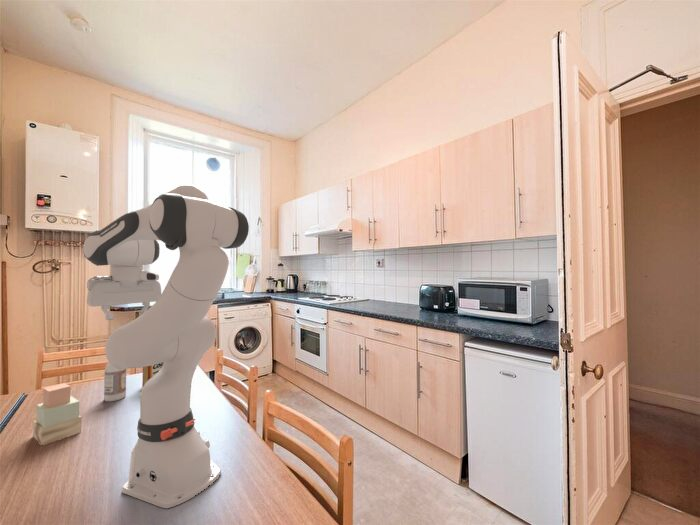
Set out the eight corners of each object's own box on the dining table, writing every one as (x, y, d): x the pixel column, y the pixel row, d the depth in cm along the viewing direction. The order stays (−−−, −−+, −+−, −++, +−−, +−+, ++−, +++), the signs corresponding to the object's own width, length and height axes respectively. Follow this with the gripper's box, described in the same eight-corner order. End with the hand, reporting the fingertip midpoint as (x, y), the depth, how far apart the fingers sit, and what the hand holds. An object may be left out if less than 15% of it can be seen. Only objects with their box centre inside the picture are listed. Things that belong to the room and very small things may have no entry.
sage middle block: (79, 417, 96) (79, 401, 96) (44, 428, 90) (44, 411, 90) (70, 410, 101) (70, 395, 101) (36, 420, 94) (36, 404, 94)
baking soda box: (148, 390, 130) (148, 353, 130) (142, 386, 134) (143, 350, 134) (171, 383, 137) (172, 348, 138) (165, 380, 141) (166, 346, 142)
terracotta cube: (70, 402, 96) (70, 386, 96) (48, 408, 91) (48, 391, 92) (64, 398, 98) (64, 383, 98) (43, 404, 94) (43, 388, 94)
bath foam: (120, 401, 119) (121, 350, 120) (100, 402, 118) (101, 351, 118) (129, 394, 126) (130, 345, 126) (110, 395, 124) (111, 346, 125)
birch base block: (81, 432, 96) (81, 416, 96) (41, 446, 89) (42, 429, 89) (71, 424, 101) (71, 409, 101) (32, 437, 94) (33, 421, 94)
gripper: (91, 276, 89) (91, 323, 89) (163, 275, 107) (163, 314, 106) (83, 276, 93) (82, 321, 92) (154, 275, 110) (154, 313, 110)
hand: (126, 317), depth 99 cm, fingers open, 8 cm apart
